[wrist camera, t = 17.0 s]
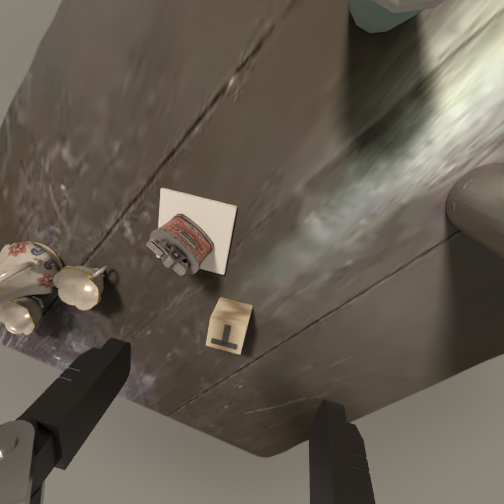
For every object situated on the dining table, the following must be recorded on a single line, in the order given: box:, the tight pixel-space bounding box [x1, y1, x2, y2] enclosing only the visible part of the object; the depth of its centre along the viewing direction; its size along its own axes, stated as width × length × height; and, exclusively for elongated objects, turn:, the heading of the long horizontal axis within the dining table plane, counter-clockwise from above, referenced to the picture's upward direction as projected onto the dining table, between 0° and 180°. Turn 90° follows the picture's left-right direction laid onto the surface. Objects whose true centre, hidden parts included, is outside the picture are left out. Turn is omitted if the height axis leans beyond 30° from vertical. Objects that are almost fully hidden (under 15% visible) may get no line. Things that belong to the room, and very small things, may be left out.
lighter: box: [147, 213, 214, 275], centre depth 41 cm, size 8×3×10 cm, turn 46°
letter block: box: [206, 297, 253, 355], centre depth 49 cm, size 6×6×6 cm
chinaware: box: [0, 241, 108, 335], centre depth 48 cm, size 28×17×17 cm, turn 122°
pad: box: [157, 188, 237, 275], centre depth 46 cm, size 12×12×1 cm
